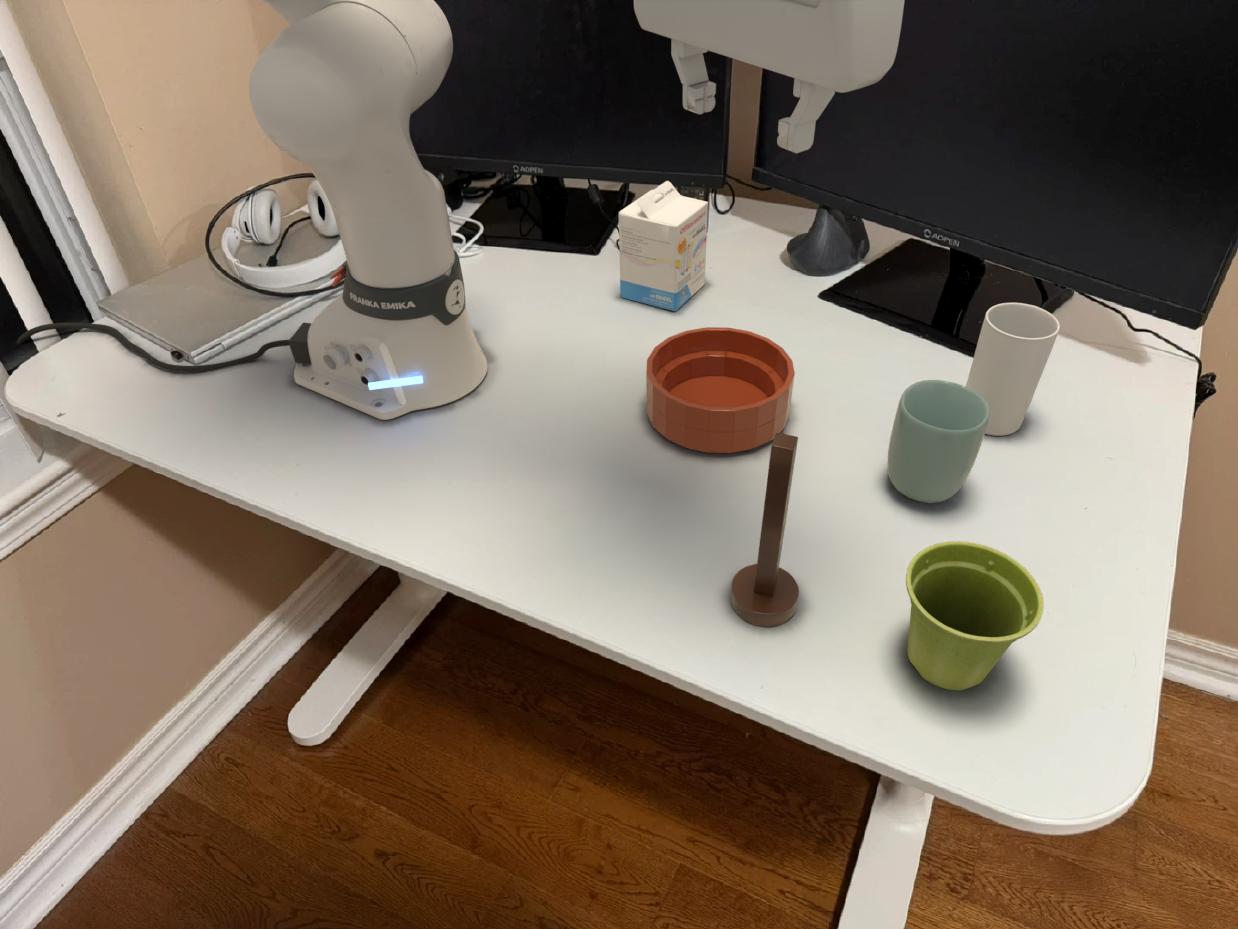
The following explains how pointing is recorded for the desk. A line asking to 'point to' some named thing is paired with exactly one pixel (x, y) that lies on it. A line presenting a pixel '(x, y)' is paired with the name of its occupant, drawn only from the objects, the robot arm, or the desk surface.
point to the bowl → (719, 389)
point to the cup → (935, 439)
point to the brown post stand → (770, 549)
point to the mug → (1011, 361)
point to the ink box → (662, 248)
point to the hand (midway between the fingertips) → (744, 128)
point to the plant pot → (967, 611)
